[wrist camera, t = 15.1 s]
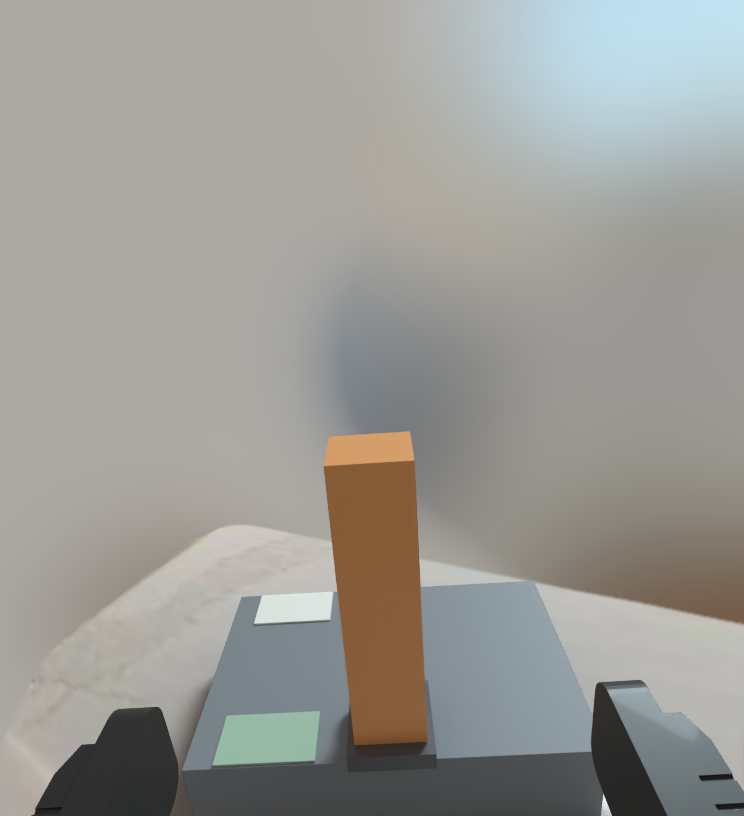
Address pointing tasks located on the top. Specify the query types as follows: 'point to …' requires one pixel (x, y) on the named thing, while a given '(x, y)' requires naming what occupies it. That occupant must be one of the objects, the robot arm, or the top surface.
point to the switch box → (450, 704)
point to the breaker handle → (380, 600)
